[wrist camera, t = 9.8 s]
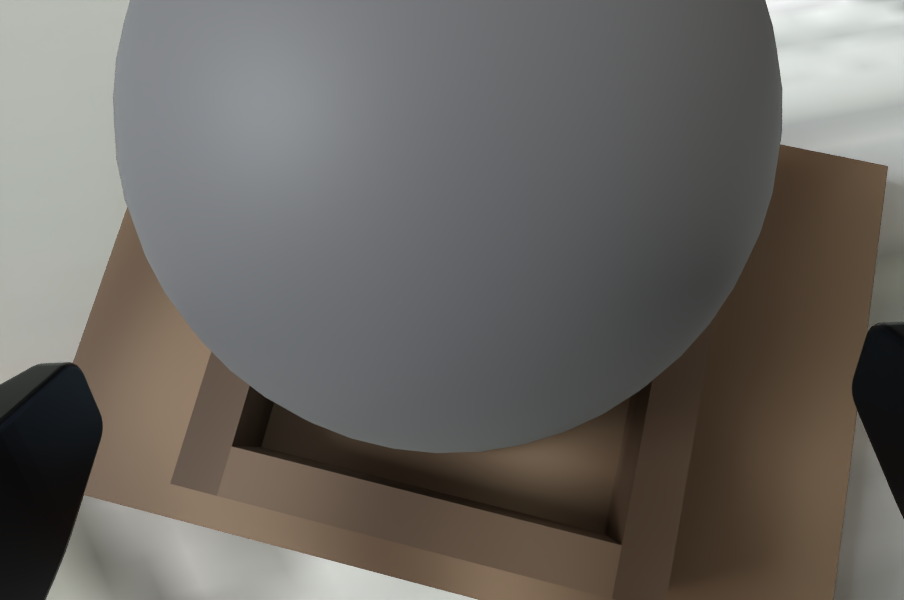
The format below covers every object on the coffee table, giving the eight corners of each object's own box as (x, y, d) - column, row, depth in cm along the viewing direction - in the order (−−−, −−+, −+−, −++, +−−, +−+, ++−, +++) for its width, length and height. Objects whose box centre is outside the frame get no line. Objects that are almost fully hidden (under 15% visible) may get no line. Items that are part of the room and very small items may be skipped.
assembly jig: (855, 188, 19) (940, 129, 15) (791, 669, 16) (873, 726, 13) (211, 57, 20) (156, -24, 17) (68, 478, 18) (-30, 484, 14)
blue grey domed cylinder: (611, 439, 16) (1100, 391, 3) (349, 464, 16) (-126, 510, 4) (577, 190, 17) (839, -519, 5) (334, 215, 17) (-55, -411, 5)
